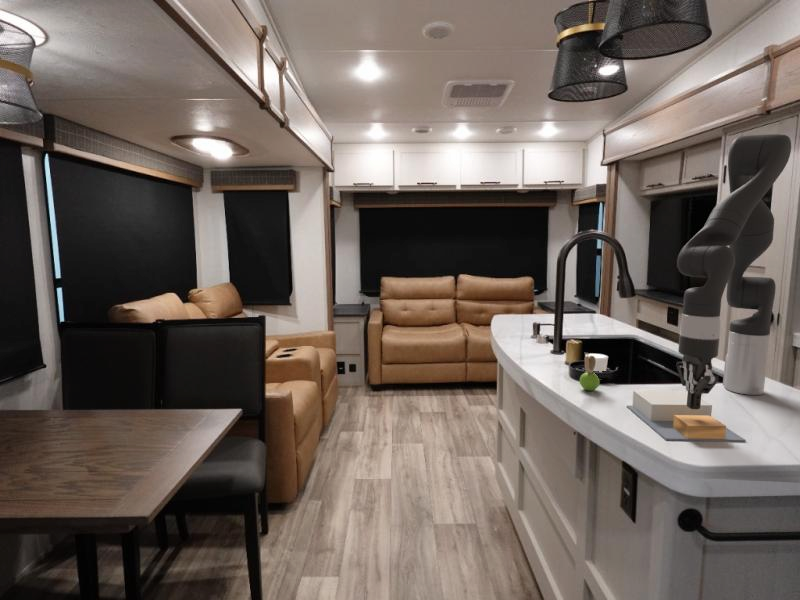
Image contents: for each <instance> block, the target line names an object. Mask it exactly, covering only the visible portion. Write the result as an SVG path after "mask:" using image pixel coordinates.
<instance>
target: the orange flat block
mask: <svg viewBox="0 0 800 600" xmlns="http://www.w3.org/2000/svg"><path fill="white" fill-rule="evenodd" d="M673 428H675V429H676V430H677V431H679V432H680V433H681V434H682V435H684V436H685V437H686V438H691V439H725V435H726V428H727V425H726V424H724V423H722V422H721V421H719V420H717V419H716V418H714V417H712V415H711V416H708V415H674V420H673Z"/></svg>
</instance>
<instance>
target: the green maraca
mask: <svg viewBox="0 0 800 600" xmlns="http://www.w3.org/2000/svg"><path fill="white" fill-rule="evenodd" d="M586 354H587V356H586V357H585V356H584V370H585V372H584V373H582V374H581V375H580V377H579V384H580V387H582V389H583V390H585V391H590V392H591V391H594V390H596V389H598V388H599V385H600V382H601V381H600V379H599V378H598V376H597V375H596V374H595V373H592V372H593V370H594V367H595V362H596V361H595V357H594V356H589V357H588V354H589V352H584V355H586Z"/></svg>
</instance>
